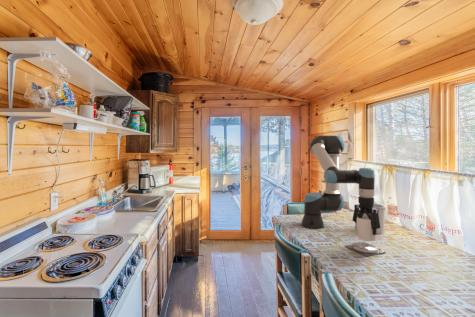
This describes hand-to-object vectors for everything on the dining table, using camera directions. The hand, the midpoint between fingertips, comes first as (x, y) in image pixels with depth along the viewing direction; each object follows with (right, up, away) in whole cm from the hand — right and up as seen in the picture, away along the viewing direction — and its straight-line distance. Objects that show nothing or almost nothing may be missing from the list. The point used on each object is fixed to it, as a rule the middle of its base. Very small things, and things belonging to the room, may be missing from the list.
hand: (365, 237), depth 134 cm
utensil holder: (+22, -6, +33) cm, 40 cm away
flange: (0, -7, 0) cm, 7 cm away
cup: (0, -1, 0) cm, 1 cm away
